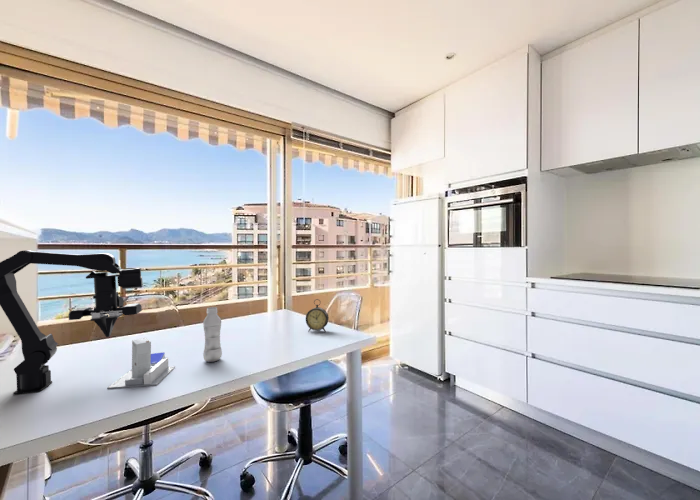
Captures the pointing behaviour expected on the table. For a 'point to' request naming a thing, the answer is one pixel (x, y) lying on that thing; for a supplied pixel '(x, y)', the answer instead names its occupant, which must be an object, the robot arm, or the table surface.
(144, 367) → the skincare box
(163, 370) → the rail base
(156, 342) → the table surface
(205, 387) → the table surface
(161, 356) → the hard drive
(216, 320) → the plastic bottle
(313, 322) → the alarm clock
